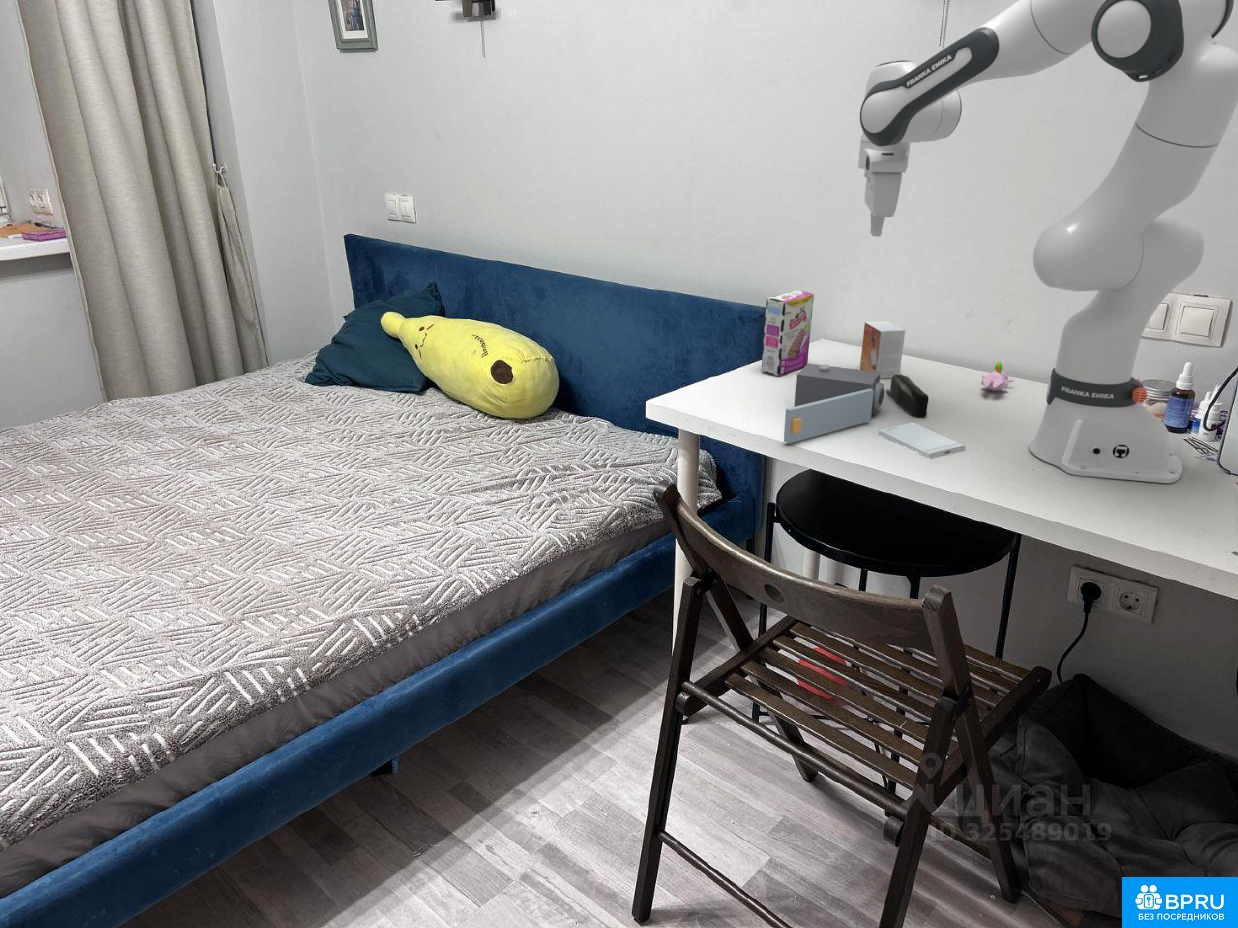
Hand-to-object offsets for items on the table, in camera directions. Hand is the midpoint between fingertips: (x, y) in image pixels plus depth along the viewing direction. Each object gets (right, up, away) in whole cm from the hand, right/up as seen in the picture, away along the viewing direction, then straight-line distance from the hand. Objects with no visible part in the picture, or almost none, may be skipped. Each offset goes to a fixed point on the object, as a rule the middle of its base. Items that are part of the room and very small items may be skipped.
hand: (875, 235), depth 170 cm
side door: (-11, -37, -9) cm, 40 cm away
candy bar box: (-12, -23, +26) cm, 37 cm away
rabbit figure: (+28, -28, +13) cm, 42 cm away
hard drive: (+4, -40, -13) cm, 42 cm away
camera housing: (-7, -32, +3) cm, 33 cm away
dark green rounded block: (+7, -32, +5) cm, 33 cm away
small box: (+7, -24, +24) cm, 34 cm away
